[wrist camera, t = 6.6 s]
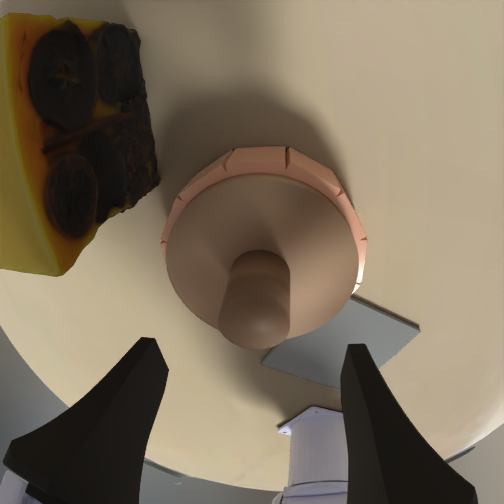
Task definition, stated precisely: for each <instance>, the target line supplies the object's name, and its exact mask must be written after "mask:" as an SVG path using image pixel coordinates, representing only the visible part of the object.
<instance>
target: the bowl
mask: <svg viewBox="0 0 504 504" xmlns="http://www.w3.org/2000/svg"><path fill="white" fill-rule="evenodd" d="M248 173H270V174H279V175H283V176H287V177H291V178H294V179H297V180H299V181H302V182H305V183H307V184H308V185H310V186H312V187H314V188H316V189H317V190H319V191H320V192H321V193H323V194H324V195H325V196H327V197H328V198H329V199H330V200H331V201H332V202H333V203H334V204H335V205H336V206H337V207H338V208H339V210H340V211H341V213H342V214H343V215H344V217H345V219H346V220H347V222H348V224H349V226H350V229H351V231H352V234H353V236H354V239H355V242H356V245H357V249H358V255H359V272H358V278H357V282H356V285H355V288H354V291H355V290H356V289H357V288H358V287H359V282H361V280H362V274H363V268H364V261H365V254H366V247H367V238H366V237H367V236H366V233H365V231H364V229H363V227H362V225H361V223H360V220H359V218H358V216H357V214H356V212H355V210H354V208H353V206H352V204H351V202H350V200H349V198H348V197H347V195H346V193H345V191H344V189H343V187H342V186H341V184H340V182H339V180H338V178H337V177H336V175H335V173H333V172H332V170H331V169H329V168H327V167H325V166H324V165H322V164H320V163H318V162H316V161H315V160H313V159H311V158H309V157H307V156H305V155H304V154H302V153H300V152H298V151H296V150H294V149H292V148H290V147H289V149H288V151H287V152H286V154H285V146H270V147H248V148H236V149H235V151H233V150H231V151H229V152H228V153H226V154H225V155H223V156H222V157H220V158H219V159H217V160H216V161H214V162H213V163H211V164H210V165H209V166H207V167H206V168H204V169H203V170H201V171H200V172H199V173H197V174H196V175H195V176H194V177H193V178H192V179H191V180H190V181H189V183H188V184H187V185H186V186H185V187H184V188H183V190H182V191H181V192H180V193H179V194H178V196H177V197H176V198H175V201H174V204H173V206H172V209H171V212H170V215H169V217H168V220H167V223H166V226H165V229H164V232H163V234H162V237H161V240H162V242H161V246H162V250H163V254H164V258H165V261H166V246H167V241H168V237H169V234H170V232H171V229H172V227H173V225H174V223H175V222H176V220H177V218H178V217H179V215H180V214H181V212H182V211H183V210H184V208H185V207H186V206H187V205H188V203H189V202H190V201H191V200H192V199H193V198H194V197H195V196H196V195H197V194H199V193H200V192H201V191H203V190H204V189H206V188H207V187H209V186H210V185H212V184H214V183H216V182H218V181H221V180H223V179H226V178H229V177H232V176H236V175H242V174H248ZM354 291H353V292H354ZM352 294H353V293H352Z"/></svg>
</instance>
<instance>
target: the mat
mask: <svg viewBox="0 0 504 504" xmlns="http://www.w3.org/2000/svg"><path fill="white" fill-rule="evenodd" d="M420 332H421V331H420V329H419V328H418V327H416V326H413V325H411V324H409V323H407V322H405V321H403V320H401V319H398V318H396V317H394V316H392V315H390V314H388V313H386V312H383V311H381V310H379V309H377V308H375V307H373V306H371V305H368V304H366V303H364V302H362V301H360V300H358V299H356V298H353V297H350V299H349V300H348V301H347V303H346V304H345V306H344V307H343V308H342V309H341V310H340V312H339V313H338V314H337V315H336V316H334V317H333V318H332V319H331V320H330V321H328V322H327V323H325V324H324V325H322V326H321V327H319V328H317V329H315V330H313V331H311V332H308V333H306V334H303V335H300V336H297V337H293V338H288V339H285V340H284V341H282V342H281V343H280V344H278V345H276V346H275V347H274V348H273V349H272V350H271V351H270V352H269V353H268V354H267V356H266V357H265V358H264V359H263V360H262V362H261V365H264V366H267V367H270V368H273V369H276V370H279V371H282V372H285V373H288V374H291V375H294V376H297V377H301V378H304V379H307V380H310V381H314V382H317V383H320V384H324V385H327V386H331V387H334V388H338V389H341V387H340V375H341V371H342V367H343V363H344V359H345V354H346V350H347V346H348V344H360V343H364V344H366V346H367V348H368V350H369V352H370V354H371V356H372V358H373V360H374V362H375V364H376V366H377V368H378V369H379V368H380V367H381V366H382V365H384V364H385V363H386V362H387V361H388V360H390V359H391V358H392V357H393V356H394V355H395V354H397V353H398V352H399V351H400V350H401V349H402V348H403V347H404V346H406V345H407V344H408V343H409V342H410V341H411V340H412V339H413V338H414V337H415V336H416V335H418V334H419V333H420Z"/></svg>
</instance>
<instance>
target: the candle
mask: <svg viewBox="0 0 504 504" xmlns="http://www.w3.org/2000/svg"><path fill="white" fill-rule="evenodd" d="M140 43H141V41H140V39H139V37H138V34H137V32H136V31H135V30H133V29H127V28H126V27H125V26H124V25H122V24H115V23H112V24H109V23H108V22H105V21H91V20H79V19H74V18H69V17H67V18H63V19H59V20H56V19H55V18H53V17H52V16H36V15H32V14H24V13H8V14H7V15H5V16H4V17H3V18H1V19H0V269H7V270H12V271H18V272H24V273H32V274H41V275H48V276H54V277H58V276H62V275H64V274H65V273H66V272H67V271H68V270H69V269H70V268H71V267H72V266H73V265H74V263H75V262H76V260H77V258H78V257H79V255H80V253H81V251H82V250H83V249H84V248H85V247H86V246H87V245H88V244H89V243H90V242H91V241H92V240H93V239H94V237H95V234H96V232H97V230H98V228H99V227H100V226H101V225H102V224H103V223H104V222H105V221H106V220H107V219H109V218H111V217H113V216H115V215H116V214H118V213H119V212H121V213H123V212H124V211H125V210H126V209H130V208H133V207H134V206H135V205H136V204H137V202H138V201H139V199H142V197H143V196H146V195H147V193H149V192H151V191H152V189H154V188H155V187H156V186H158V185H159V182H160V180H161V179H160V177H159V175H158V174H157V172H156V170H157V160H156V158H155V155H154V144H155V142H154V139H153V135H152V132H151V122H150V113H149V109H148V105H147V102H146V98H147V94H146V91H145V81H144V79H143V76H142V69H141V64H140V57H139V49H140Z"/></svg>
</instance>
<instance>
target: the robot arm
mask: <svg viewBox="0 0 504 504" xmlns="http://www.w3.org/2000/svg"><path fill="white" fill-rule="evenodd" d="M168 372H169V369H168V367H167V364H166V362H165V360H164V358H163V356H162V353H161V351H160V349H159V346H158V344H157V342H156V339H155V338H147V337H141V338H140V339H139V340H138V341H137V342H136V343H135V344H134V345H133V347H132V348H131V349H130V350H129V351H128V352H127V353H126V354H125V355H124V356H123V357H122V359H121V360H120V361H119V362H118V363H117V364H116V365H115V366H114V367H113V368H112V369H111V370H110V371H109V372H108V373H107V375H106V376H105V377H104V378H103V379H102V380H101V381H100V382H99V383H98V384H96V385H95V386H94V387H93V388H92V389H91V390H90V391H89V392H88V393H87V394H86V395H85V396H84V397H83V398H81V399H80V400H79V401H78V402H77V403H75V404H74V405H73V406H72V407H70V408H69V409H68V410H66V411H65V412H63V413H62V414H60V415H59V416H58V417H56V418H55V419H53V420H52V421H50V422H48V423H47V424H45V425H43V426H42V427H40V428H38V429H36V430H34V431H32V432H30V433H28V434H26V435H24V436H21V437H19V438H17V439H14V440H12V441H11V444H10V446H9V448H8V450H7V453H6V455H5V457H4V459H3V464H4V465H5V466H6V467H8V468H9V469H10V470H12V471H13V472H15V473H16V474H18V475H19V476H21V477H22V478H23V479H25V480H27V481H28V482H29V483H27V482H25V481H24V480H22V479H21V478H19V477H18V476H16V475H15V474H13V473H11V472H10V471H8V470H7V471H6V473H5V475H4V478H3V480H2V483H1V486H0V504H139V491H140V481H141V474H142V467H143V461H144V456H145V451H146V446H147V442H148V439H149V435H150V432H151V429H152V426H153V424H154V421H155V418H156V415H157V412H158V409H159V406H160V403H161V400H162V397H163V394H164V391H165V387H166V382H167V377H168ZM340 387H341V404H342V411H343V413H341V412H336V411H332V410H327V409H323V408H319V407H310V408H309V409H307V410H306V411H304V412H303V413H301V414H300V415H298V416H297V417H295V418H294V419H292V420H291V421H289V422H288V423H286V424H285V425H283V426H282V427H280V428H278V430H277V432H278V433H282V434H286V435H291V441H290V461H289V478H288V487H284V493H279V494H278V495H277V496H276V497H275V498H274V499H273V501H272V504H478V499H477V494H476V491H475V487H474V486H473V485H472V484H470V483H469V482H468V481H467V480H465V479H464V478H463V477H462V476H461V475H459V474H458V473H457V472H456V471H455V470H454V469H453V468H452V467H450V466H449V465H448V464H447V463H446V462H445V461H444V460H443V459H442V458H441V457H440V456H439V454H438V453H437V452H436V451H435V450H434V449H433V448H432V447H431V446H430V445H429V444H428V443H427V441H426V440H425V439H424V438H423V437H422V435H421V434H420V433H419V432H418V430H417V429H416V428H415V426H414V425H413V424H412V422H411V421H410V420H409V418H408V417H407V415H406V414H405V413H404V411H403V410H402V408H401V407H400V405H399V404H398V402H397V400H396V399H395V397H394V396H393V394H392V392H391V391H390V389H389V387H388V386H387V384H386V382H385V380H384V379H383V377H382V375H381V373H380V371H379V370H378V368H377V366H376V364H375V362H374V360H373V358H372V356H371V354H370V352H369V350H368V348H367V346H366V344H364V343H360V344H348V346H347V350H346V354H345V359H344V363H343V367H342V371H341V375H340Z"/></svg>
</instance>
